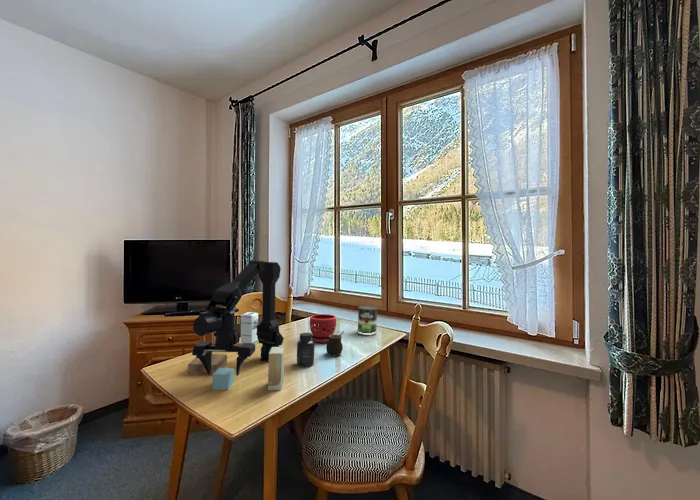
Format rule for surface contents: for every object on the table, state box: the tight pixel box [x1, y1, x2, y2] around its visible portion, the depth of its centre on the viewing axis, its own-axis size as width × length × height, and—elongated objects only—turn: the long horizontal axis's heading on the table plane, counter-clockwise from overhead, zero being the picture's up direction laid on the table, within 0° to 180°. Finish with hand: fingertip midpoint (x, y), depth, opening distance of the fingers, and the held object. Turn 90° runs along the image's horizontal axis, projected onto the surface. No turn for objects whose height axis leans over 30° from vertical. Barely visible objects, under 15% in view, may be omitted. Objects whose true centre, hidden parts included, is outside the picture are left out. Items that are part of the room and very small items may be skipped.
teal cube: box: [211, 367, 235, 391], centre depth 100 cm, size 5×5×5 cm
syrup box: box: [240, 311, 259, 346], centre depth 141 cm, size 6×6×14 cm
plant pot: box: [309, 313, 337, 344], centre depth 151 cm, size 13×13×12 cm
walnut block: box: [187, 353, 228, 376], centre depth 113 cm, size 10×10×4 cm
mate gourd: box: [325, 330, 345, 357], centre depth 132 cm, size 7×8×10 cm
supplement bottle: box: [296, 332, 315, 368], centre depth 120 cm, size 7×7×12 cm
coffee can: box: [357, 305, 378, 333], centre depth 165 cm, size 10×10×14 cm
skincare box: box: [267, 346, 285, 391], centre depth 101 cm, size 6×4×12 cm
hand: (223, 374), depth 100 cm, fingers open, 9 cm apart
